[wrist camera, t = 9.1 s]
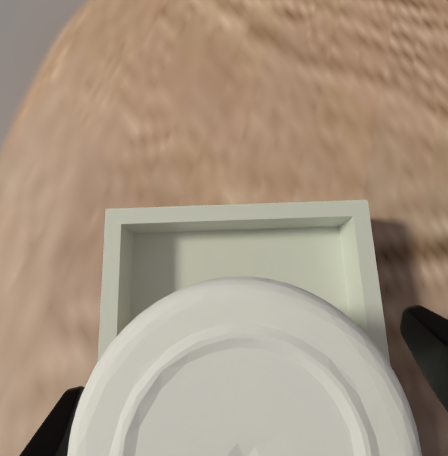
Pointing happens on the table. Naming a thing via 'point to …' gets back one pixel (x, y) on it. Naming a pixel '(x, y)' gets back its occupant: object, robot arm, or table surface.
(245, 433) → the sprinkles bottle
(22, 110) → the table surface
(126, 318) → the tray
